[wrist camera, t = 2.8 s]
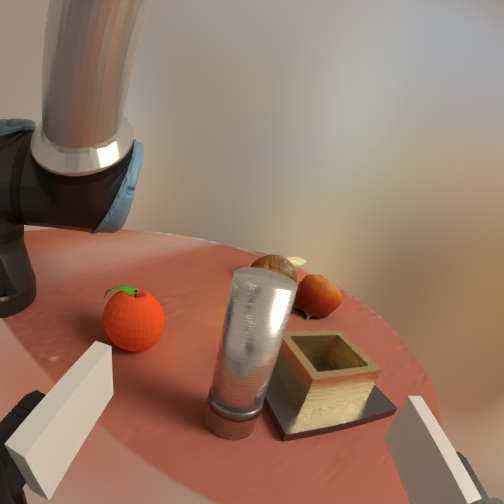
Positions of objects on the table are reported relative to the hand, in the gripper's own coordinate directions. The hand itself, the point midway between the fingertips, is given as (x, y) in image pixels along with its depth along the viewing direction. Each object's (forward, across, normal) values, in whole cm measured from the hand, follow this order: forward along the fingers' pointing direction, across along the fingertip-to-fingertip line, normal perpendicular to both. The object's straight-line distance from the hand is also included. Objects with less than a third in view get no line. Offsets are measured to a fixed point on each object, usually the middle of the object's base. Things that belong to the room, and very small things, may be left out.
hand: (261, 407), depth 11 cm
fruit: (+39, +12, -12) cm, 42 cm away
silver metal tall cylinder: (+10, 0, -12) cm, 16 cm away
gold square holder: (+18, +9, -12) cm, 23 cm away
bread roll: (+50, +4, -12) cm, 52 cm away
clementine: (+18, -13, -12) cm, 25 cm away
